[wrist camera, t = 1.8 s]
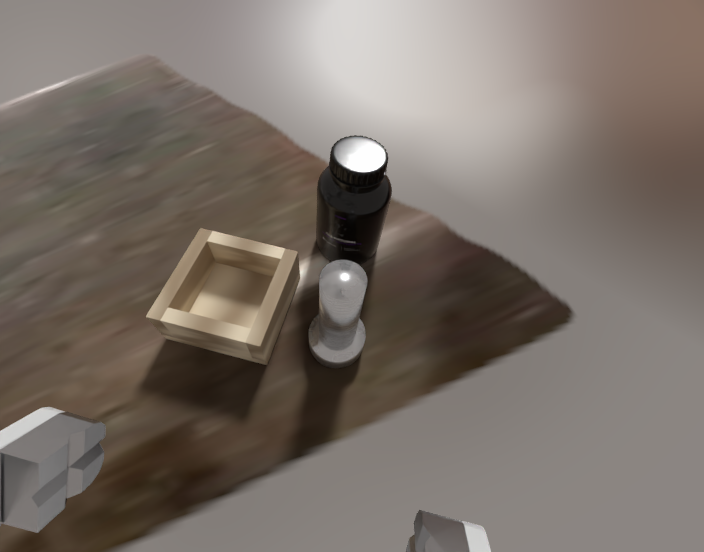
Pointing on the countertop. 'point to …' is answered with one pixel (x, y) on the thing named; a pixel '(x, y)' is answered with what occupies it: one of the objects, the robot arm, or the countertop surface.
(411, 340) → the countertop surface
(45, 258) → the countertop surface
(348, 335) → the metal coffee tamper
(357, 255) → the supplement bottle
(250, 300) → the open wooden box
